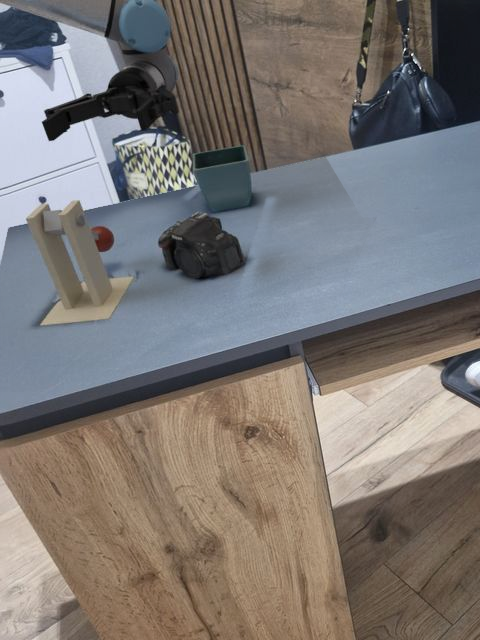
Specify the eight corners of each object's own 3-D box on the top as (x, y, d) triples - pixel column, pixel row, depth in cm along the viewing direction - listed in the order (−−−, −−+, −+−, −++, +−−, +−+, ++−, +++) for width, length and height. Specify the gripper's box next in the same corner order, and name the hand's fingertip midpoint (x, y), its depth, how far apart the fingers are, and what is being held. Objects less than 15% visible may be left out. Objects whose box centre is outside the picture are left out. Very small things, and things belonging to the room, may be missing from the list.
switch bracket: (74, 289, 90) (36, 195, 82) (137, 283, 89) (104, 188, 81) (43, 332, 81) (-4, 232, 73) (112, 326, 80) (72, 223, 72)
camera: (155, 287, 87) (136, 229, 82) (182, 258, 94) (166, 203, 89) (233, 288, 84) (218, 228, 79) (255, 258, 91) (242, 201, 86)
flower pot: (260, 213, 105) (248, 159, 100) (206, 223, 104) (192, 169, 99) (255, 195, 112) (245, 143, 107) (205, 204, 111) (192, 153, 106)
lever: (95, 255, 91) (93, 230, 91) (119, 252, 91) (117, 227, 91) (39, 237, 77) (36, 207, 77) (68, 233, 76) (65, 203, 76)
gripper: (214, 105, 109) (187, 143, 91) (73, 121, 111) (20, 161, 93) (203, 57, 105) (173, 88, 87) (57, 75, 106) (-2, 108, 89)
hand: (94, 126), depth 90 cm, fingers open, 13 cm apart
